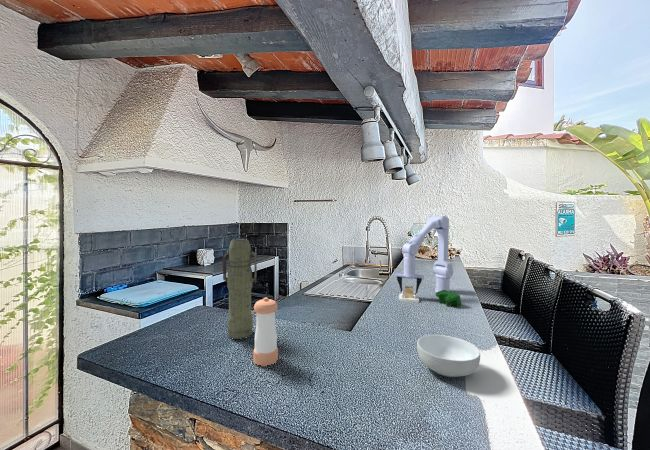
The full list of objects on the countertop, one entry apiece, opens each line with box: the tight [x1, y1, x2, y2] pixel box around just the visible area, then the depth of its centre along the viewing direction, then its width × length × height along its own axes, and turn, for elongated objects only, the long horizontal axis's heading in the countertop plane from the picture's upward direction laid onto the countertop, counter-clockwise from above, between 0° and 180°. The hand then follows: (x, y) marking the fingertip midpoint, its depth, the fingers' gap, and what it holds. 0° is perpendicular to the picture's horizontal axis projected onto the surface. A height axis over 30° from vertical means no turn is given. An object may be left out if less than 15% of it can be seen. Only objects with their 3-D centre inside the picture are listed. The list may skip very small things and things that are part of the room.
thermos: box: [222, 238, 258, 340], centre depth 108 cm, size 9×12×35 cm
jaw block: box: [404, 285, 414, 298], centre depth 155 cm, size 4×4×5 cm
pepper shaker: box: [252, 297, 279, 367], centre depth 89 cm, size 7×7×19 cm
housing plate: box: [398, 290, 420, 303], centre depth 155 cm, size 10×10×3 cm
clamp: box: [435, 290, 462, 308], centre depth 147 cm, size 12×6×9 cm, turn 11°
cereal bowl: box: [416, 334, 481, 378], centre depth 85 cm, size 17×17×7 cm
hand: (408, 292), depth 155 cm, fingers open, 7 cm apart
